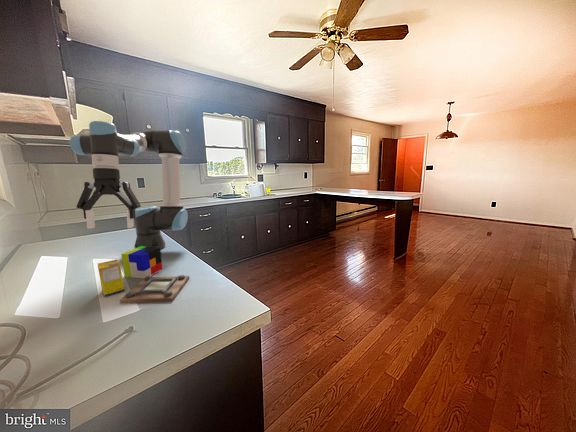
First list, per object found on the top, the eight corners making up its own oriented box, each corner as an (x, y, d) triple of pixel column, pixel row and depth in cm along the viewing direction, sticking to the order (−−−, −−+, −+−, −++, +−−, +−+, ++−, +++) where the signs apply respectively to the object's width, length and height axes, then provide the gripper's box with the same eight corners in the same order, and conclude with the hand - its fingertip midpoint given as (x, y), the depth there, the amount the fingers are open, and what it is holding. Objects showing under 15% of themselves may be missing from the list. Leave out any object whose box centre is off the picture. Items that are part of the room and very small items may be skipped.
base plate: (146, 279, 96) (145, 274, 96) (189, 278, 98) (188, 273, 97) (120, 303, 80) (119, 297, 79) (172, 301, 81) (171, 295, 80)
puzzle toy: (145, 278, 98) (142, 255, 96) (124, 276, 100) (121, 253, 98) (162, 268, 107) (160, 247, 105) (143, 266, 109) (140, 246, 107)
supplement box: (121, 285, 92) (117, 258, 89) (124, 291, 87) (120, 263, 85) (101, 291, 88) (97, 263, 85) (104, 297, 83) (99, 268, 81)
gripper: (58, 166, 79) (65, 230, 81) (137, 167, 81) (141, 228, 83) (77, 169, 86) (82, 226, 89) (148, 169, 88) (152, 225, 91)
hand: (111, 227), depth 86 cm, fingers open, 13 cm apart
